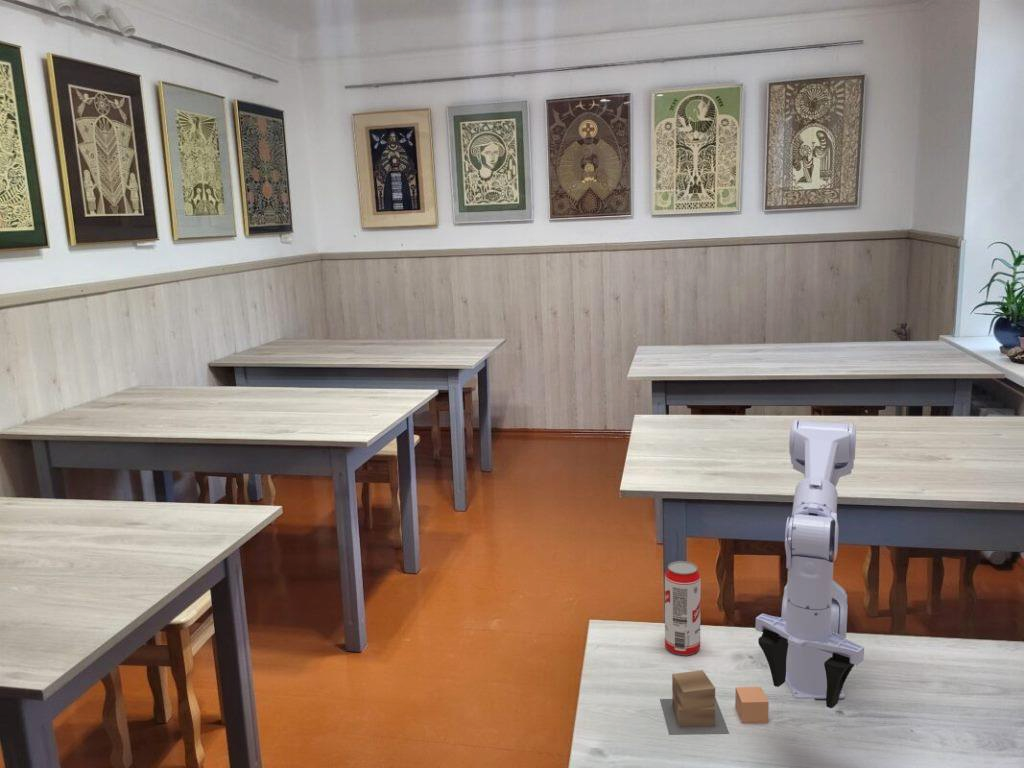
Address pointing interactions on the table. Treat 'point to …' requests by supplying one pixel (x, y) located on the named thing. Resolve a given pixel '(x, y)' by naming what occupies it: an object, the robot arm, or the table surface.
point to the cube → (751, 704)
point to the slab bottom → (693, 715)
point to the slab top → (693, 689)
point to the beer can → (682, 608)
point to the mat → (676, 730)
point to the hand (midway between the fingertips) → (805, 694)
